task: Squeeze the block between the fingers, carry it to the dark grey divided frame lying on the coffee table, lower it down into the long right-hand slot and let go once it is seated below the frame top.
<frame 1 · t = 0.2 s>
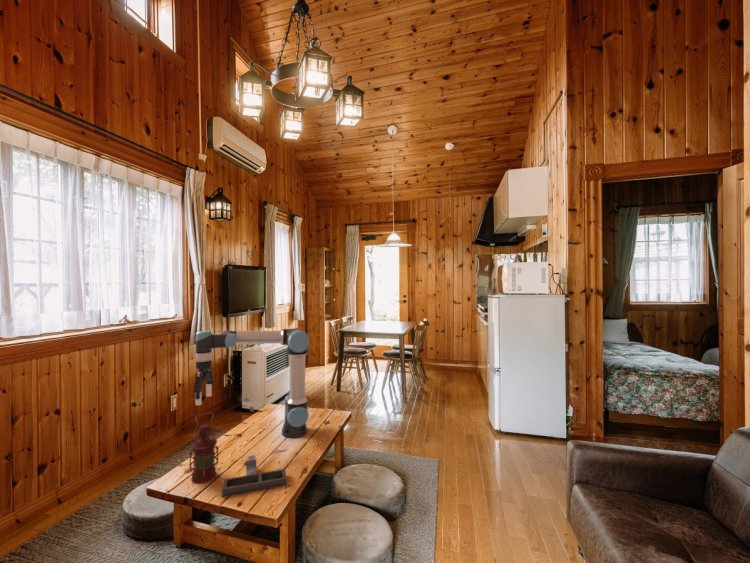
hand: (203, 400, 175), 29 cm above the table, fingers open, 13 cm apart
dark grey divided frame: (255, 485, 149), on the table
block: (251, 472, 159), on the table
lantern: (203, 477, 155), on the table
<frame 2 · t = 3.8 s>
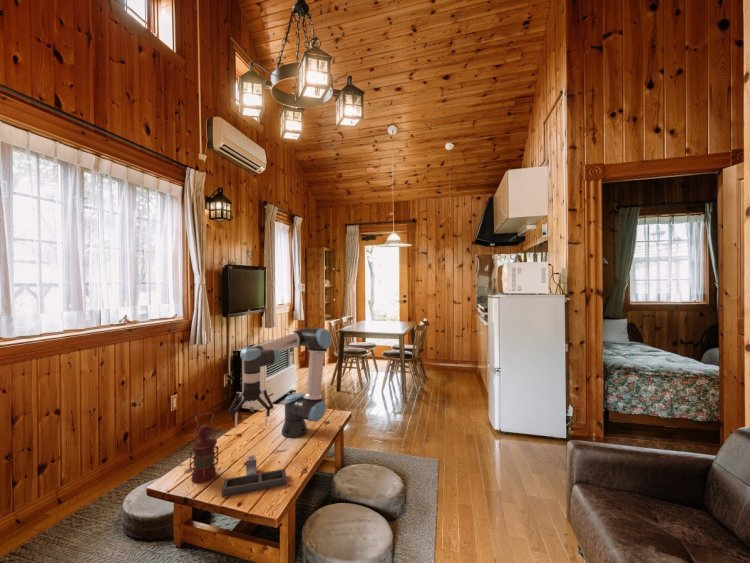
hand: (251, 425, 160), 23 cm above the table, fingers open, 13 cm apart
nothing on the table moved.
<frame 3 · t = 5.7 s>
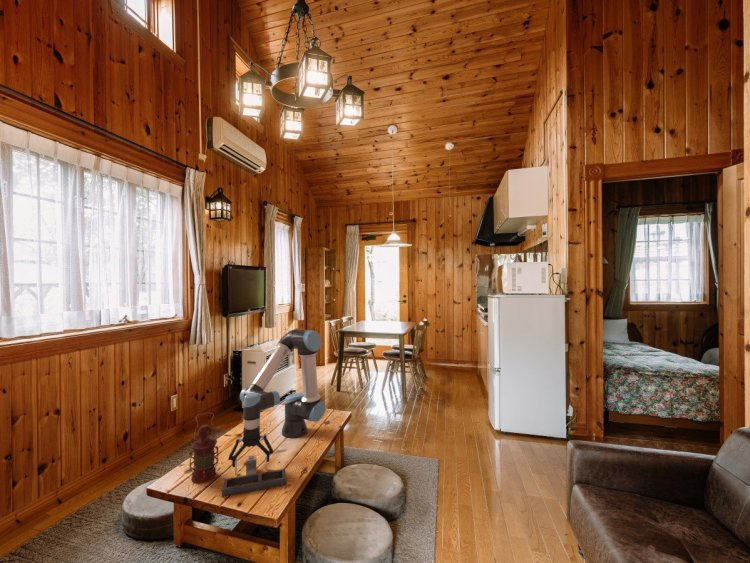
hand: (251, 470, 159), 1 cm above the table, fingers open, 13 cm apart
nothing on the table moved.
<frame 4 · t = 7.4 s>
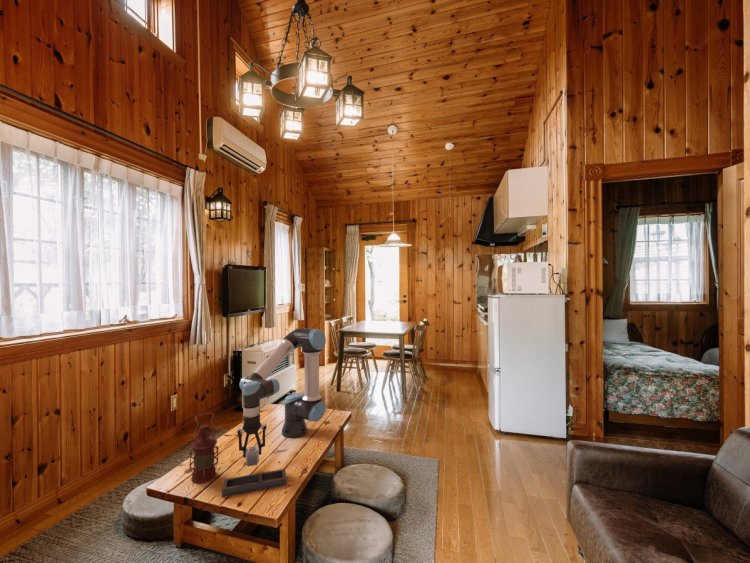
hand: (252, 462, 160), 5 cm above the table, fingers closed on block, 4 cm apart
block: (252, 463, 160), point 4 cm above the table, touching gripper
everything else where it was.
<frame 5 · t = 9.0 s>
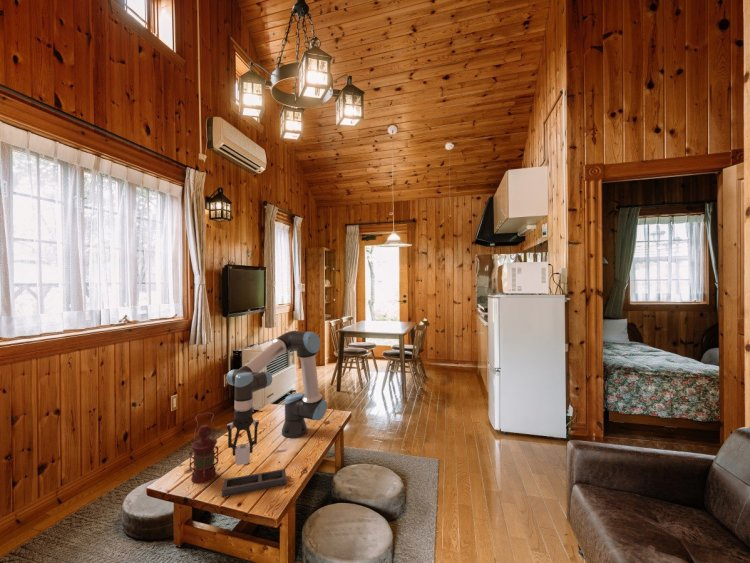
hand: (242, 461, 147), 12 cm above the table, fingers closed on block, 4 cm apart
block: (242, 462, 147), point 12 cm above the table, touching gripper
everything else where it was.
when the fingers open (0 cm above the table, at t = 10.9 s): block stays where it is, resting in dark grey divided frame.
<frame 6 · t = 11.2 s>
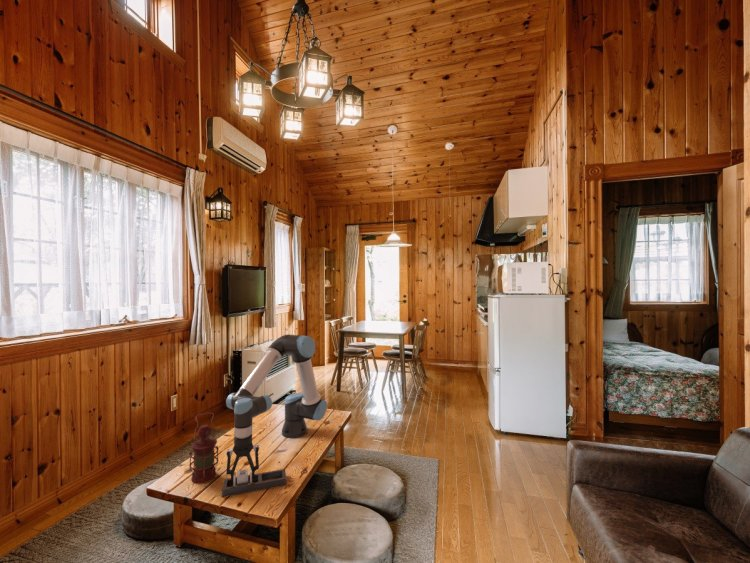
hand: (242, 486, 147), 0 cm above the table, fingers open, 6 cm apart
block: (242, 488, 147), resting in dark grey divided frame
everything else where it was.
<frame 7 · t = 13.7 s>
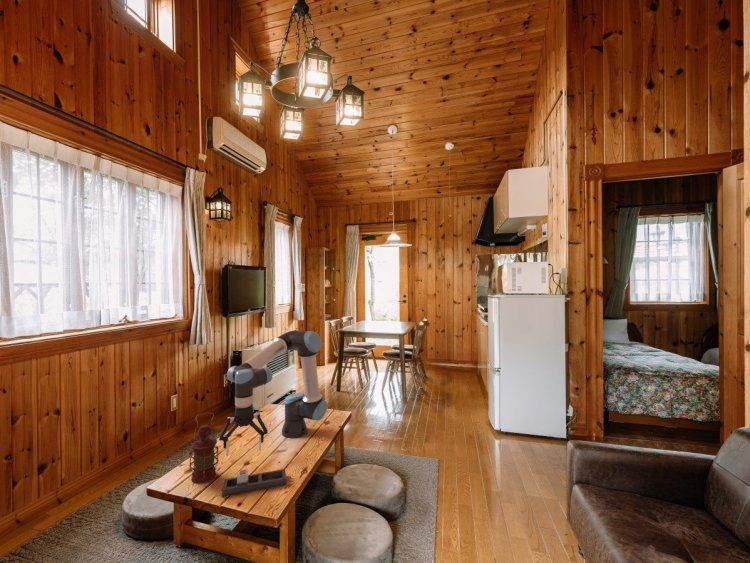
hand: (243, 452, 148), 15 cm above the table, fingers open, 13 cm apart
nothing on the table moved.
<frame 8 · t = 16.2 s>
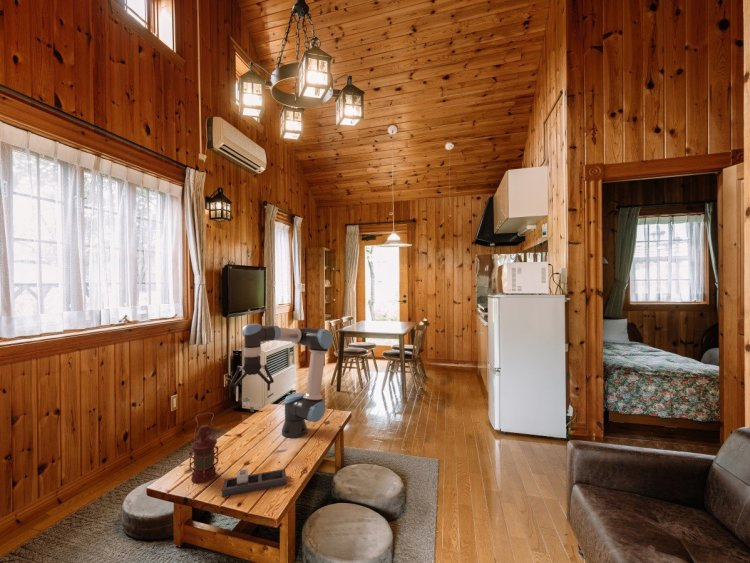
hand: (252, 398, 162), 35 cm above the table, fingers open, 13 cm apart
nothing on the table moved.
at the end: block 0.2 cm from the target spot on the dark grey divided frame, point 0.0 cm above the dark grey divided frame's base; block tilted 0°; the gripper is holding nothing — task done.
